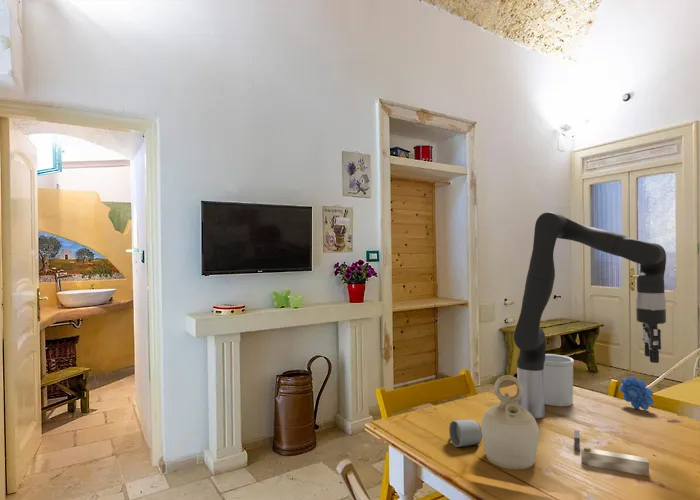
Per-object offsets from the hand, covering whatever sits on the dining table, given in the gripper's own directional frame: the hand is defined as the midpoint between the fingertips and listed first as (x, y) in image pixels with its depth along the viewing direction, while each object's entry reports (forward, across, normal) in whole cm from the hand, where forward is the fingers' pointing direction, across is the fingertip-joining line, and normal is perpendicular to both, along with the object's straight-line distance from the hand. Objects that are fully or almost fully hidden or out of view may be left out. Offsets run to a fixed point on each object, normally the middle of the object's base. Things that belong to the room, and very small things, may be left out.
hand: (651, 359), depth 135 cm
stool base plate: (+26, +19, -13) cm, 35 cm away
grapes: (+26, -35, 0) cm, 44 cm away
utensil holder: (+27, -33, -28) cm, 51 cm away
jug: (+27, +31, -39) cm, 56 cm away
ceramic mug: (+27, +22, -54) cm, 64 cm away
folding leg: (+25, +25, -13) cm, 38 cm away
